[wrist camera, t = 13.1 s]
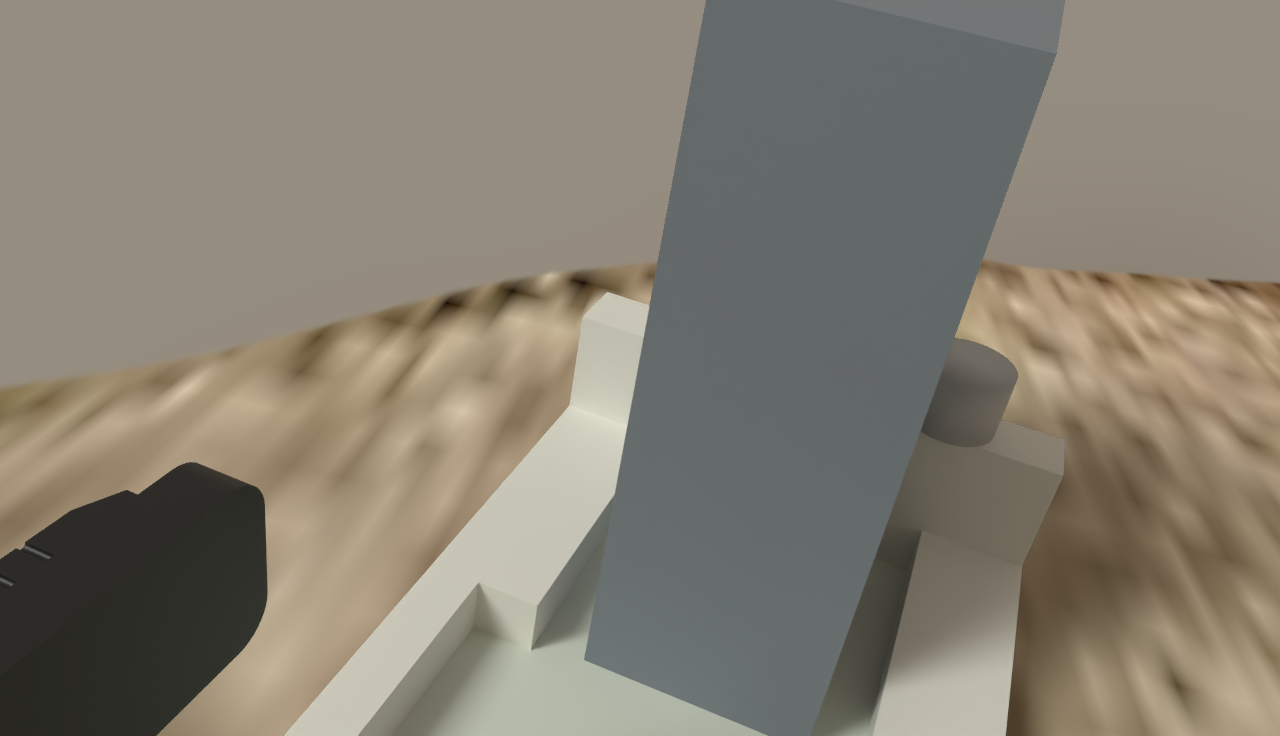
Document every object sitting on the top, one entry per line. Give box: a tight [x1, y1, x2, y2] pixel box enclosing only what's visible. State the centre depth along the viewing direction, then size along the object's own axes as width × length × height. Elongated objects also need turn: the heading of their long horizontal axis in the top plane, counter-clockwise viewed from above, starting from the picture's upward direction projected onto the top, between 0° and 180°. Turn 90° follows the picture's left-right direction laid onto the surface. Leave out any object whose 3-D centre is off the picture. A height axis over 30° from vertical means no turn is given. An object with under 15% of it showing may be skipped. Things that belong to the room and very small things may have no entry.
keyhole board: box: [284, 292, 1065, 736], centre depth 19 cm, size 17×11×6 cm, turn 159°
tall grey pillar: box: [584, 0, 1065, 736], centre depth 19 cm, size 6×4×13 cm
